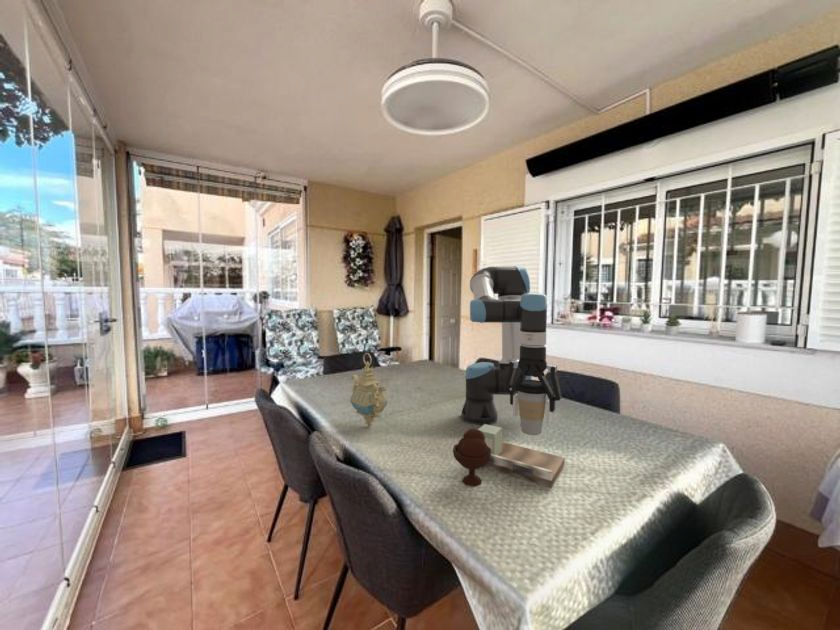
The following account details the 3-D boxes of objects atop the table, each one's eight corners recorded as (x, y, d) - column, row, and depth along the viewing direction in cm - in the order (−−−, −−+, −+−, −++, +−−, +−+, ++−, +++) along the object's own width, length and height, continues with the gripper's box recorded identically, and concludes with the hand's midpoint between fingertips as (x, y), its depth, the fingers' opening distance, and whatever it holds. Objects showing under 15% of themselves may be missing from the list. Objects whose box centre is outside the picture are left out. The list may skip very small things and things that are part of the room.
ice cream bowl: (449, 472, 107) (449, 424, 106) (485, 470, 108) (486, 422, 107) (456, 492, 97) (456, 439, 95) (496, 490, 98) (496, 437, 96)
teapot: (342, 421, 148) (340, 350, 146) (366, 415, 156) (364, 347, 153) (372, 440, 130) (370, 359, 127) (397, 432, 137) (396, 355, 135)
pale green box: (476, 454, 114) (476, 430, 114) (484, 447, 119) (484, 424, 119) (494, 459, 111) (494, 434, 110) (501, 451, 116) (501, 427, 115)
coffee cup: (516, 436, 104) (517, 386, 103) (514, 424, 114) (515, 378, 113) (550, 438, 103) (551, 387, 101) (545, 426, 112) (546, 379, 111)
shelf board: (472, 464, 112) (472, 450, 112) (492, 445, 125) (492, 432, 125) (550, 488, 99) (551, 472, 98) (564, 463, 112) (564, 450, 111)
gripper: (493, 344, 109) (492, 415, 111) (569, 350, 97) (567, 430, 99) (502, 340, 116) (501, 408, 117) (574, 346, 103) (573, 422, 105)
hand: (531, 418), depth 108 cm, fingers closed on coffee cup, 9 cm apart
